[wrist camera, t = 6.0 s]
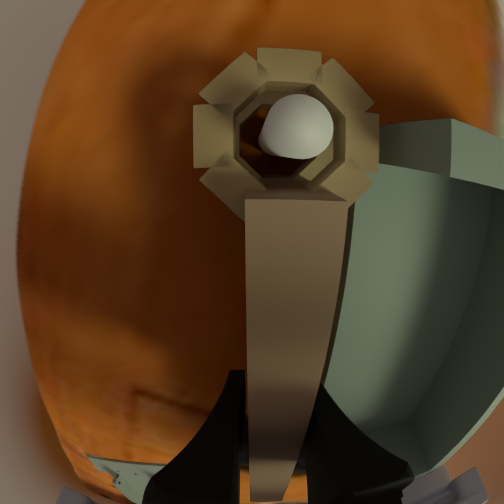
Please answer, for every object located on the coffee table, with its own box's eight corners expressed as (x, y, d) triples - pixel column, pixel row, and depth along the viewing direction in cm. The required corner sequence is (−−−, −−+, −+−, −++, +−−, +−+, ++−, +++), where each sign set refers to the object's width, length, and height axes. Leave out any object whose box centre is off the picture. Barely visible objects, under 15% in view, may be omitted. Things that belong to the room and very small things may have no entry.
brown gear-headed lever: (293, 432, 17) (300, 499, 11) (234, 434, 17) (231, 501, 11) (327, 94, 9) (398, 48, 4) (218, 91, 9) (182, 31, 4)
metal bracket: (230, 529, 18) (136, 518, 20) (236, 498, 24) (149, 494, 26) (169, 469, 18) (74, 456, 20) (186, 433, 23) (96, 432, 25)
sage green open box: (410, 414, 17) (434, 471, 11) (256, 436, 17) (257, 510, 11) (492, 163, 10) (579, 187, 4) (258, 125, 10) (267, 85, 4)
